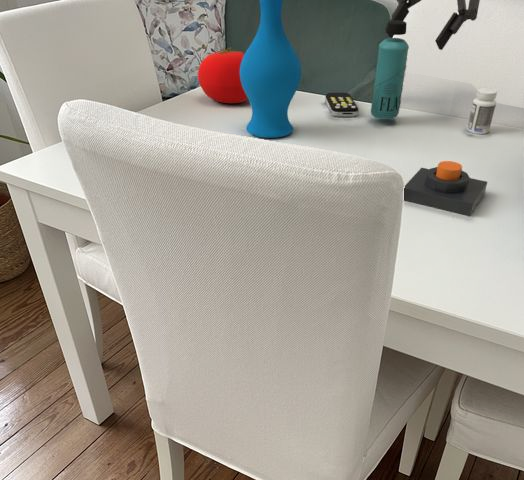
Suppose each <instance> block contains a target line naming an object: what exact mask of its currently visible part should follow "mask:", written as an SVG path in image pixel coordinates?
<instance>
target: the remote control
mask: <svg viewBox="0 0 524 480" xmlns="http://www.w3.org/2000/svg"><path fill="white" fill-rule="evenodd" d="M324 100H325V103H326V105H327V107H328V110H329V112H330V113H331V115H332V116H333V117H335V118H344V117H345V118H346V117H347V118H349V117H350V118H351V117H353V118H354V117H357V116H358V114H359V107H358V105H357V104H356V102H355V100H354V99H353V98H352V95H351V94H350V93H348V92H328V93H325V97H324Z"/></svg>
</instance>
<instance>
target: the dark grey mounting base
mask: <svg viewBox="0 0 524 480" xmlns="http://www.w3.org/2000/svg"><path fill="white" fill-rule="evenodd" d="M437 167H438V166H435V167H431V168H426V167H420V168H419V170H417V172H416V173H415V174H414V175H413V176H412V177H411V178H410V180H408V182H407V183H405V185H404V186H405V188H404V200H403V201H405V202H410V203H414V204H418V205H423V206H426V207H430V208H435V209H439V210H442V211H447V212H450V213H451V212H452V213H456V214H460V215H463V216H468V217H471V215H472V214H473V212H474V211H475V209H476V207H477V205H478V204H479V203H480V201H481V199H482V198H483V197H484V195H485V194H486V190H487V186H488V181H486V180H480V179H478V178H477V179H476V178H473V177H470V176H469V174H468V172H466V171H464V170H462V171H461V175H460V179H459V180H455V181H453V180H444V179H440V178H438V177H436V172H437Z"/></svg>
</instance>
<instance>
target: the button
mask: <svg viewBox="0 0 524 480" xmlns="http://www.w3.org/2000/svg"><path fill="white" fill-rule="evenodd" d="M436 167H437V172H436V177H438V178H440V179H444V180H453V181H455V180H459V179H460V175H461V171H463V165H462V164H461V163H459V162H456V161H453V160H443V161H440V162H438V164H437V166H436Z"/></svg>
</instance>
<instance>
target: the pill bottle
mask: <svg viewBox="0 0 524 480" xmlns="http://www.w3.org/2000/svg"><path fill="white" fill-rule="evenodd" d="M497 95H498V90H496V89H494V88H492V87H480V88H477V91H476V94H475V98H474V99H473V100H472V104H471V108H470V114H469V117H468V122H467V125H466V130H467V131H468V132H470V133H472V134H474V135H475V134H476V135H485V134H487V133H489V132H490V129H491V125H492V121H493V117H494V113H495V109H496V105H497V100H496V98H497Z"/></svg>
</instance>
